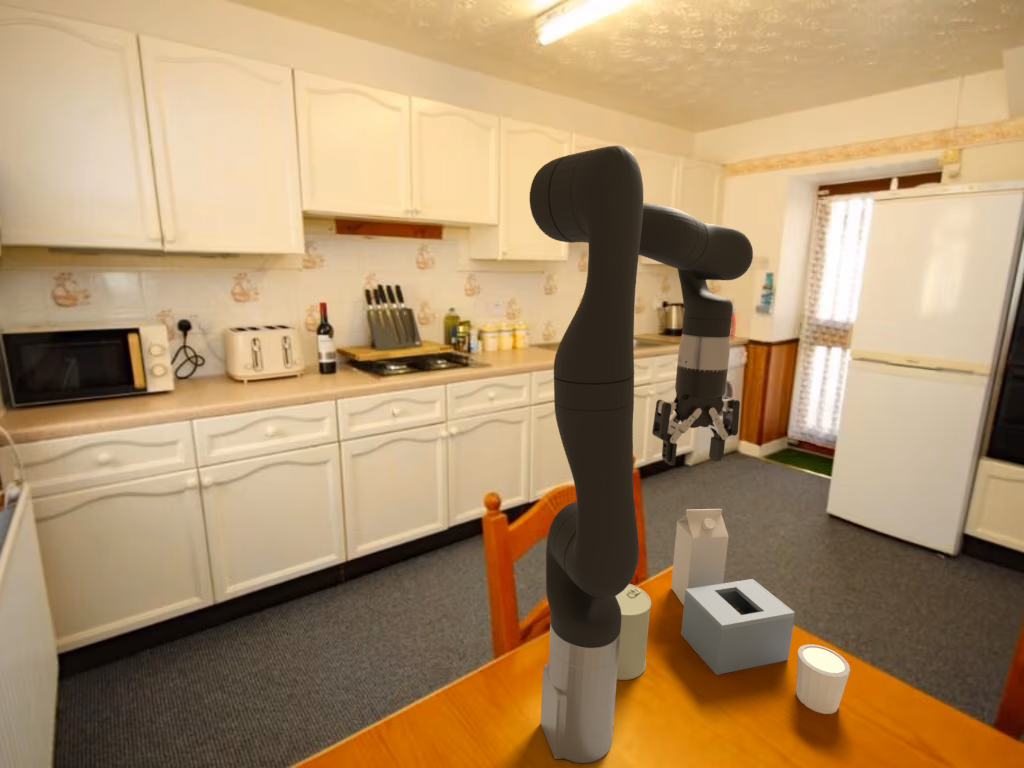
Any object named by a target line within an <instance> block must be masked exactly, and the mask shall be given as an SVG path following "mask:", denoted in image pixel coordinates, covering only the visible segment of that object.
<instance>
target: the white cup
mask: <svg viewBox="0 0 1024 768" xmlns="http://www.w3.org/2000/svg"><path fill="white" fill-rule="evenodd" d="M796 663H797V664H796V683H795V684H796V686H795V687H796V688H795V691H796V692H795V693H796V697H797V698H798V700H799V701H800V703H801V704H804V706H805V707H807V708H808V709H810V710H812V711H814V712H816V713H819V714H822V715H823V714H824V715H827V714H829V715H832V714H834V713H836V712H837V711H838V710H839V708H840V703H841V700H842V697H843V694H844V691H845V689H846V685H847V681H848V679H849V675H850V672H851V668H850V664H849V663H848V661H847V660H846V659H845V658H844V657H843V656H842V655H841V654H839V653H837V651H834V650H832V649H830V648H828V647H826V646H823V645H819V644H809V643H808V644H803V645H800V646H799V648H798V650H797V662H796Z"/></svg>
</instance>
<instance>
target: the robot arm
mask: <svg viewBox="0 0 1024 768" xmlns="http://www.w3.org/2000/svg"><path fill="white" fill-rule="evenodd" d="M641 172H642V171H641V167H640V165H639V162H638V160H637V158H636V156H635V154H634V153H632V151H630V150H629V149H628V148H627V147H625V146H621V145H610V146H608V145H607V146H603V147H599V148H598V147H597V148H594V149H589V150H585V151H581V152H577V153H572V154H568V155H565V156H561V157H557V158H555V159H552V160H550V161H549V162H547V163H545V164H544V165H543V166H542V167H541V168H539V169H538V171H537V172H536V174H535V175H534V176H533V180H532V182H531V185H530V189H529V208H530V211H531V216H532V218H533V219H534V220H533V221H534V222H535V224H536V226H538V228H539V230H540V231H541V232H542V233H544V235H546V237H549V238H550V239H552V240H555V241H559V242H564V243H574V244H575V243H588V259H587V260H588V262H587V275H586V283H585V288H584V292H583V295H582V298H581V300H580V303H579V305H578V307H577V309H576V311H575V313H574V315H573V317H572V319H571V321H570V323H569V324H568V326H567V328H566V330H565V332H564V334H563V335H562V338H561V339H560V342H559V344H558V347H557V349H556V352H555V355H554V361H553V393H554V394H553V395H554V397H553V398H554V400H553V401H554V413H555V421H556V424H557V428H558V432H559V436H560V439H561V443H562V447H563V450H564V454H565V456H566V459H567V462H568V466H569V469H570V471H571V472H570V473H571V475H572V479H573V484H574V488H575V489H574V490H575V496H576V501H573V502H570V503H568V504H566V505H564V506H563V507H562V508H561V509H560V510H559V511H558V512H557V513H556V514H555V516H554V518H553V520H552V522H551V523H550V526H549V529H548V533H547V537H546V549H545V568H546V569H545V590H546V591H545V592H546V599H547V604H548V607H549V610H550V611H549V613H550V622H549V623H550V625H549V627H550V628H549V642H548V643H549V645H548V661H547V662H548V663H547V664H544V665H543V666H542V682H541V703H540V704H541V705H540V725H541V728H542V730H543V732H544V736H545V738H546V740H547V743H548V745H549V748H550V751H551V754H552V756H553V758H554V759H555V760H560V759H564V760H568V761H570V762H573V763H578V764H579V763H580V764H589V763H592V762H593V763H595V762H596V761H598V760H601V759H602V758H603V757H605V755H606V754H607V753H608V752H609V750H610V749H611V746H612V743H613V731H614V721H615V720H614V719H615V707H616V694H617V693H616V692H617V681H618V679H617V670H618V657H619V645H620V633H621V609H620V606H619V603H618V601H617V599H616V595H618V594H619V593H621V592H622V591H623V590H624V589H625V588H626V587H627V586H628V585H629V584H631V581H632V579H633V578H634V576H635V574H636V571H637V567H638V564H639V554H640V553H639V551H640V549H639V548H640V547H639V546H640V545H639V544H640V543H639V533H638V525H637V524H638V523H637V512H636V505H635V497H634V496H635V493H634V440H633V439H634V437H633V436H634V434H633V432H634V431H633V429H634V407H635V400H634V399H635V355H634V354H635V352H634V351H635V350H634V346H635V345H634V337H635V333H634V332H635V306H636V305H635V304H636V303H635V301H636V285H637V274H638V264H639V256H642V257H644V258H648V259H651V260H653V261H655V262H657V263H661V264H663V265H667V266H668V267H672V268H674V269H677V273H678V278H679V283H680V288H681V295H682V301H683V310H684V311H683V319H682V328H681V329H682V330H681V333H682V334H681V337H680V338H681V339H680V342H679V346H678V352H677V353H678V354H677V366H676V375H675V386H674V387H675V388H674V389H675V390H674V391H675V395H676V396H675V397H674V400H673V401H665V400H663V399H662V398H661V399H658V400H657V401H656V403H655V411H654V417H653V423H652V424H653V425H652V431H651V433H652V436H654V437H656V438H657V439H660V440H662V451H661V458H662V459H663V461H664V462H665V463H666V464H667V465H669V466H675V465H676V459H677V458H676V457H677V449H678V448H677V447H678V443H677V441H678V439H680V437H682V434H685V433H687V431H689V429H690V428H691V429H696V428H698V427H702V428H709V430H710V432H711V433H712V435H713V436H711V437H710V445H709V453H708V456H709V459H710V460H712V461H714V463H715V462H721V461H722V458H724V457H723V456H724V455H725V453H724V452H725V445H726V440H727V439H728V438H729V437H732V436H734V437H735V436H737V435H738V432H739V423H740V422H739V421H740V407H741V403H740V401H739V400H738V399H735V398H733V397H729V396H726V397H724V395H725V394H726V389H727V388H726V387H727V381H728V379H727V377H728V373H729V371H728V369H729V360H730V352H731V349H730V338H731V337H730V336H731V328H732V320H733V318H732V317H733V310H734V307H733V302H732V301H731V300H730V299H728V298H727V297H724V296H720V295H717V294H714V293H712V292H711V291H710V289H709V287H708V284H707V281H732V280H733V281H734V280H736V279H739V278H741V277H742V276H743V275H745V274H746V272H748V270H749V268H750V267H751V266H752V265H751V264H752V262H753V258H754V257H753V256H754V251H753V246H752V244H751V241H750V240H749V238H748V237H747V236H746V234H744V232H741V231H739V230H737V229H735V228H731V227H727V226H723V225H719V224H713V223H707V222H703V221H702V220H700V219H698V218H696V217H695V216H693V215H691V214H689V213H687V212H686V211H683V210H680V209H678V208H673V207H670V206H667V205H662V204H658V203H657V204H656V203H652V202H644V183H643V175H642V173H641ZM723 397H724V398H723ZM721 411H722V419H721V418H720V416H719V414H720V413H721ZM674 412H675V413H674ZM673 414H674V415H673ZM671 416H672V418H671ZM679 423H680V424H679Z"/></svg>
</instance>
